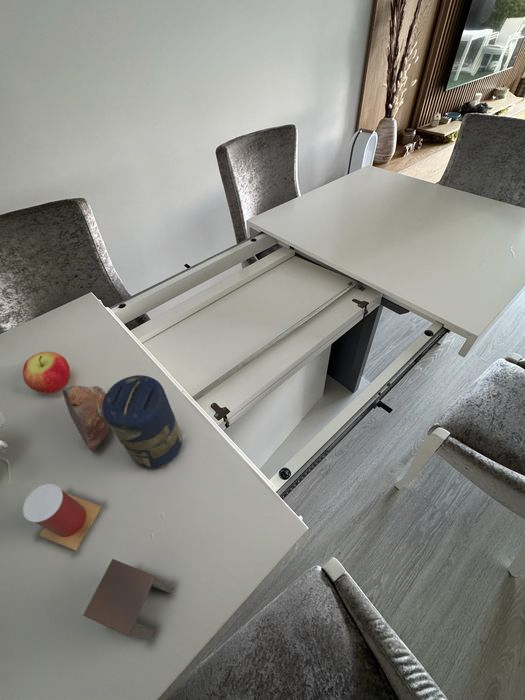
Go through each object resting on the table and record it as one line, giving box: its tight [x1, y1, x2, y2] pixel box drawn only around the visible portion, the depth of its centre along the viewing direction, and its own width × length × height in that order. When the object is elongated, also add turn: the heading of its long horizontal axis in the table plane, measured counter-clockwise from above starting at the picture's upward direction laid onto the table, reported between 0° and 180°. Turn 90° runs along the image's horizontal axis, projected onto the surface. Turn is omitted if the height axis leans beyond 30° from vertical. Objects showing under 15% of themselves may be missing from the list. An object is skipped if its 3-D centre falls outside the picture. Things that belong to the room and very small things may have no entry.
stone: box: [62, 385, 110, 452], centre depth 65 cm, size 13×8×10 cm
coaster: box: [38, 493, 103, 552], centre depth 57 cm, size 7×7×1 cm
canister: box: [102, 374, 183, 469], centre depth 58 cm, size 10×10×18 cm
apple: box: [22, 350, 71, 394], centre depth 71 cm, size 8×8×10 cm
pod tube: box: [22, 483, 86, 537], centre depth 53 cm, size 5×5×9 cm
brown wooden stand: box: [82, 558, 173, 639], centre depth 45 cm, size 6×6×11 cm
